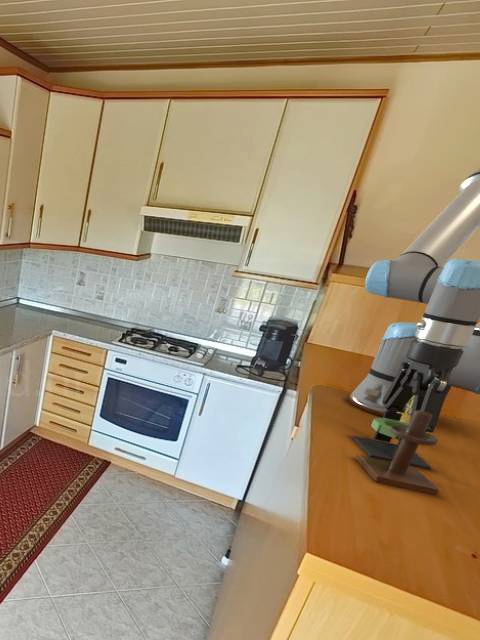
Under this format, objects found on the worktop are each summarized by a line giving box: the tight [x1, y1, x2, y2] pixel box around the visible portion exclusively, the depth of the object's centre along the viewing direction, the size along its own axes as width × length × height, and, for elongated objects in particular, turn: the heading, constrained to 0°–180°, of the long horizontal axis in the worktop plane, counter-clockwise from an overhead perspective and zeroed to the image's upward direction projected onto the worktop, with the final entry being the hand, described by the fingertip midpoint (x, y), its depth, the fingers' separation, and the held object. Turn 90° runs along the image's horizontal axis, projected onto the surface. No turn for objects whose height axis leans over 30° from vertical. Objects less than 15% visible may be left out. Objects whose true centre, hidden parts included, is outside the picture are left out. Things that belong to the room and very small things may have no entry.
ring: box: [370, 417, 430, 441], centre depth 99 cm, size 8×8×2 cm
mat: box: [352, 435, 432, 471], centre depth 101 cm, size 10×10×1 cm
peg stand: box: [356, 410, 440, 496], centre depth 88 cm, size 9×9×13 cm
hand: (390, 448), depth 100 cm, fingers closed on ring, 8 cm apart
